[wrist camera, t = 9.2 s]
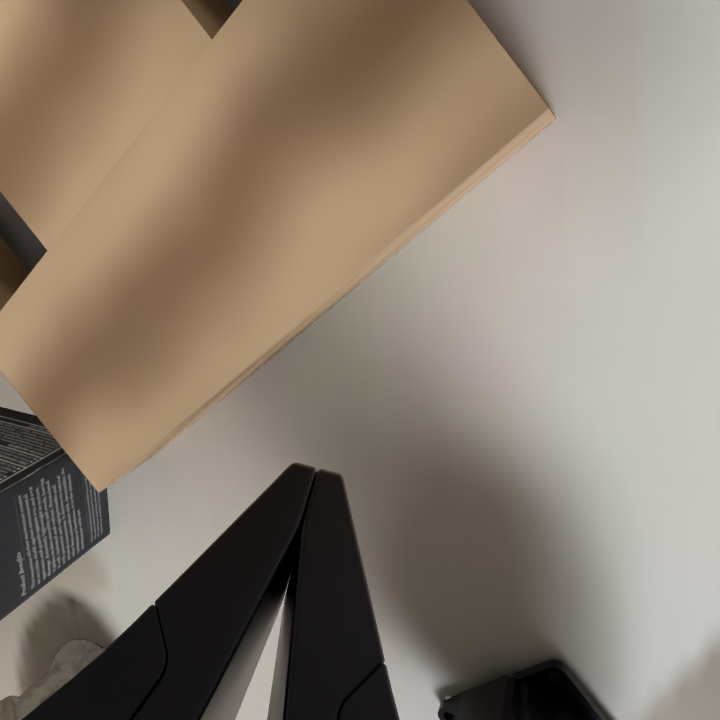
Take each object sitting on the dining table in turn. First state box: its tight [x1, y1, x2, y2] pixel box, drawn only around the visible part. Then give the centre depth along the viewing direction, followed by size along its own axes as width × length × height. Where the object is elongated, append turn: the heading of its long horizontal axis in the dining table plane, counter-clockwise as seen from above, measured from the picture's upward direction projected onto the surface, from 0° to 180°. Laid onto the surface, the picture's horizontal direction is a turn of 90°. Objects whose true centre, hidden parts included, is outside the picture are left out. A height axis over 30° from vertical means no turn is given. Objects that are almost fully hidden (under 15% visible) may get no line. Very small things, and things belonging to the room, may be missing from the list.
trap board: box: [0, 0, 555, 493], centre depth 22 cm, size 23×22×4 cm
